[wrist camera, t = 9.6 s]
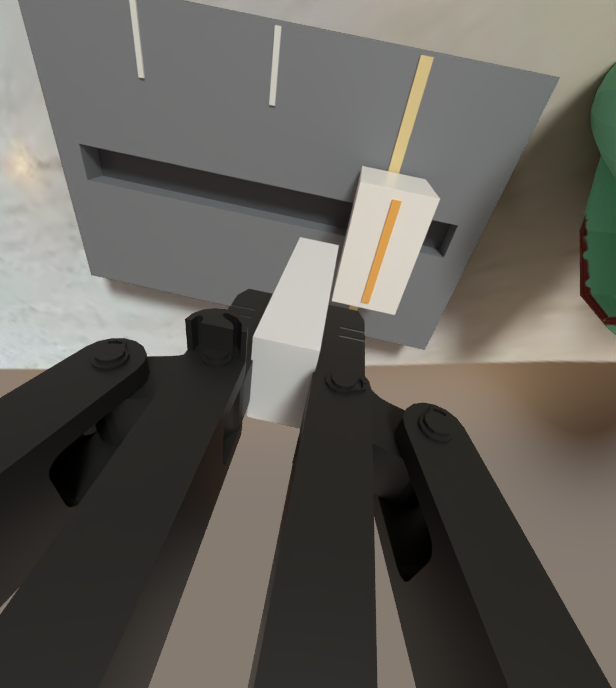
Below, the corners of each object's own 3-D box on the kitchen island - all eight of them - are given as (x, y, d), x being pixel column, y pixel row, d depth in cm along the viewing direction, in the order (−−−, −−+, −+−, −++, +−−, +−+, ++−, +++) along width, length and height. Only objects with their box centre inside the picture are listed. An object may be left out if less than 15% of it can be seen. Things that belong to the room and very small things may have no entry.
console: (115, 259, 27) (90, 275, 25) (57, -17, 18) (6, -37, 15) (419, 327, 27) (424, 350, 24) (533, 81, 17) (561, 77, 15)
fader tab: (339, 259, 22) (331, 301, 18) (362, 161, 19) (360, 182, 14) (389, 269, 22) (394, 315, 18) (422, 174, 19) (440, 199, 14)
